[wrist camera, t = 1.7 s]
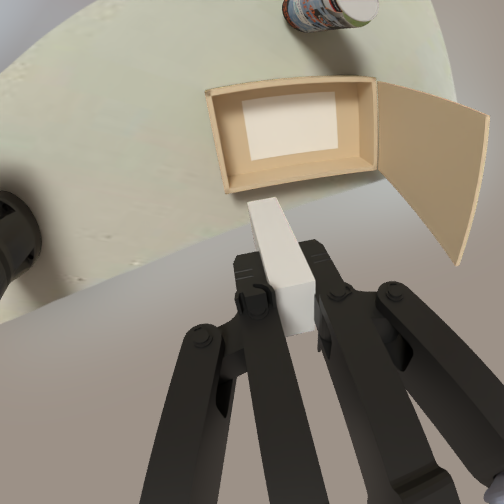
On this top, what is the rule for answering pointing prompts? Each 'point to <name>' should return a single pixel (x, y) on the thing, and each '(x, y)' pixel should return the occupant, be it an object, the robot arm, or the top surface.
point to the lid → (433, 159)
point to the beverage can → (328, 14)
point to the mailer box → (294, 129)
